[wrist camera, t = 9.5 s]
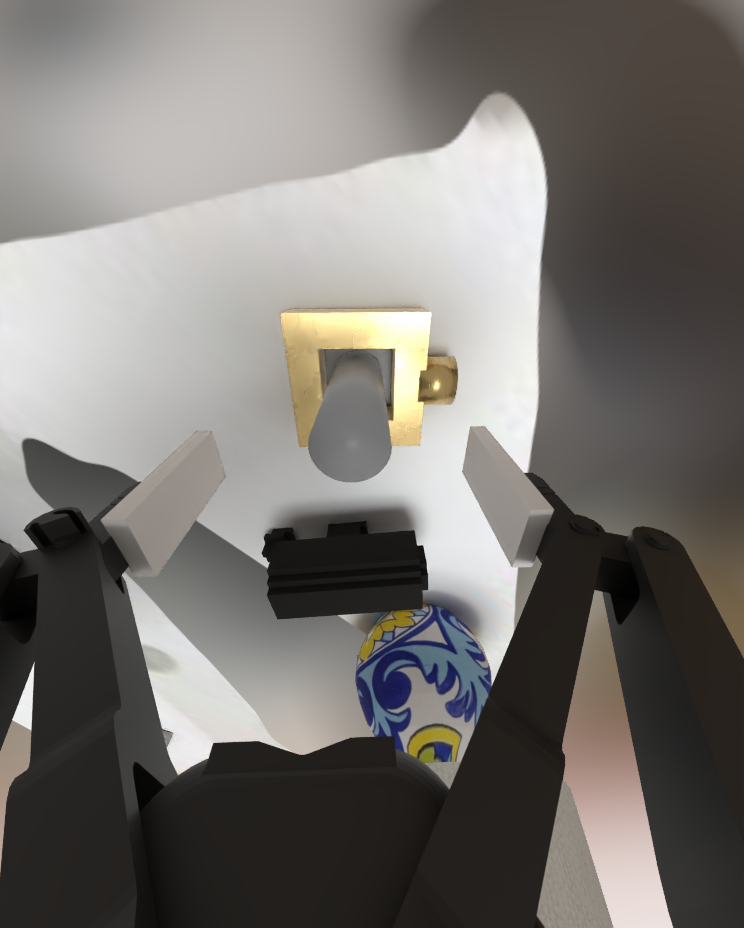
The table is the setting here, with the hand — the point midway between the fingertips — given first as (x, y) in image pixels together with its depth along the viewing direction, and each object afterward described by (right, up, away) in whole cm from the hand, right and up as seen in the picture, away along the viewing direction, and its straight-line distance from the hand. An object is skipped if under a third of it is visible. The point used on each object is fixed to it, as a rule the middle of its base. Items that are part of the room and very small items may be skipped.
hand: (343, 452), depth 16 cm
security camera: (-2, -9, +22) cm, 24 cm away
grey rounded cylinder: (0, +7, +12) cm, 14 cm away
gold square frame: (+2, +8, +12) cm, 14 cm away
